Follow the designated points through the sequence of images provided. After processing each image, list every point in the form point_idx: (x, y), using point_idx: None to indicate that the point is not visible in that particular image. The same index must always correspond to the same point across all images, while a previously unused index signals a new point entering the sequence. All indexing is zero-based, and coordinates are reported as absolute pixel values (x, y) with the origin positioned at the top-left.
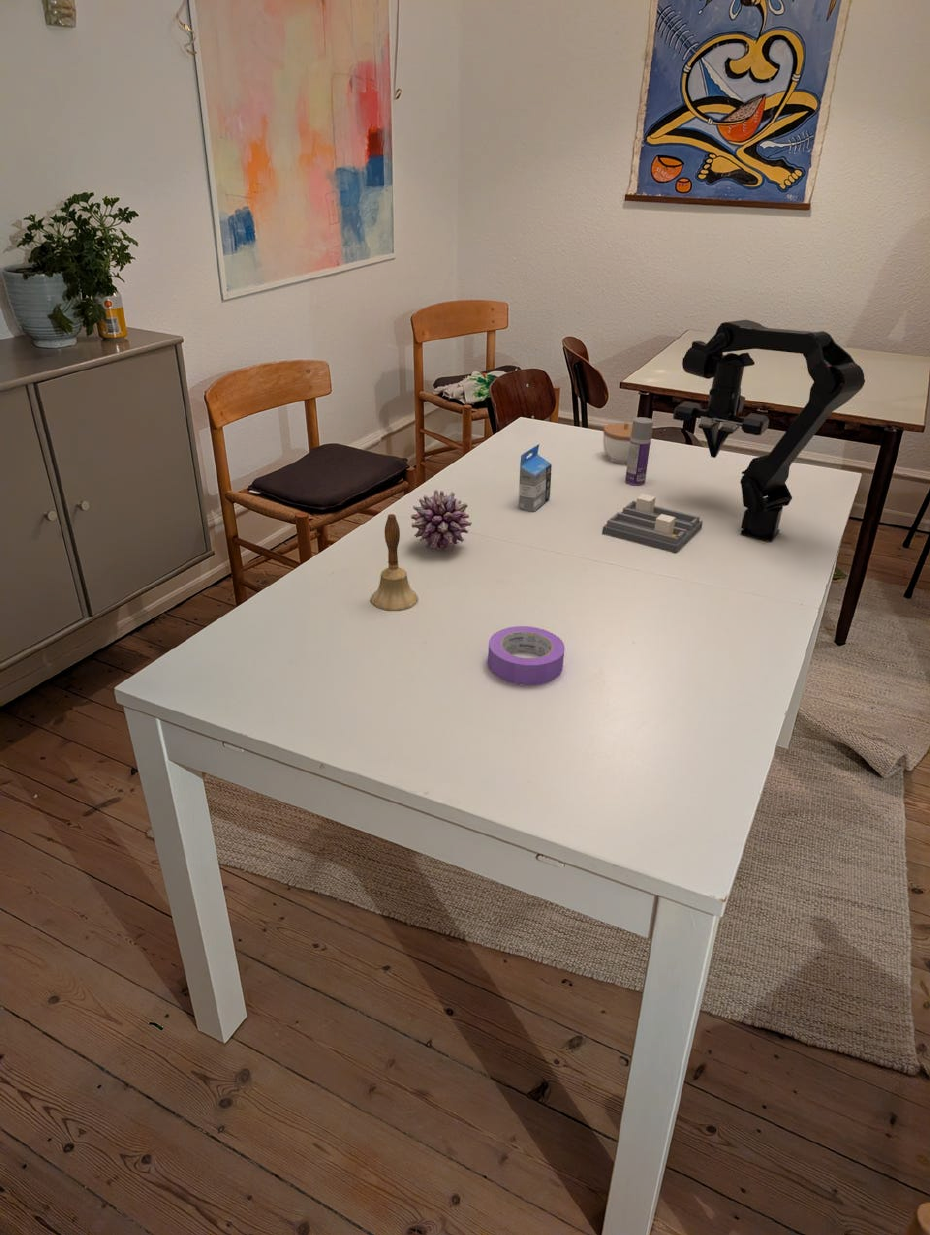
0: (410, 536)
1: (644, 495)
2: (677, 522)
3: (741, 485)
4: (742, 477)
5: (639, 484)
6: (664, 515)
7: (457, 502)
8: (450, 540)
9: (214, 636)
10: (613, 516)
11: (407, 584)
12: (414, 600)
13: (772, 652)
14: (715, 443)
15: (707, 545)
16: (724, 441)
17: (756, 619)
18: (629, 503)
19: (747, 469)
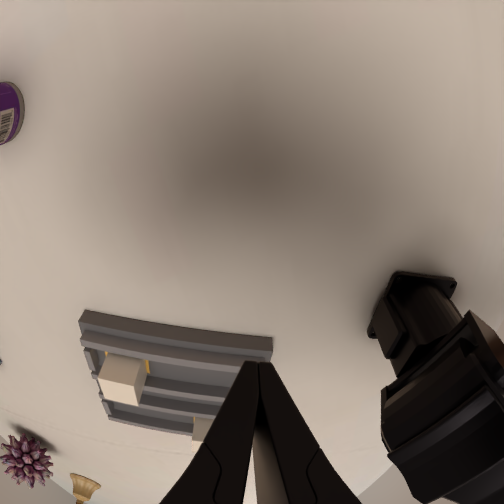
0: (3, 422)
1: (107, 384)
2: (221, 400)
3: (384, 415)
4: (387, 445)
5: (15, 132)
6: (200, 442)
7: (17, 465)
8: (51, 465)
9: (64, 488)
10: (105, 408)
11: (90, 493)
12: (97, 486)
13: (361, 482)
14: (258, 493)
15: (296, 392)
16: (323, 456)
17: (356, 469)
18: (85, 355)
19: (404, 471)
